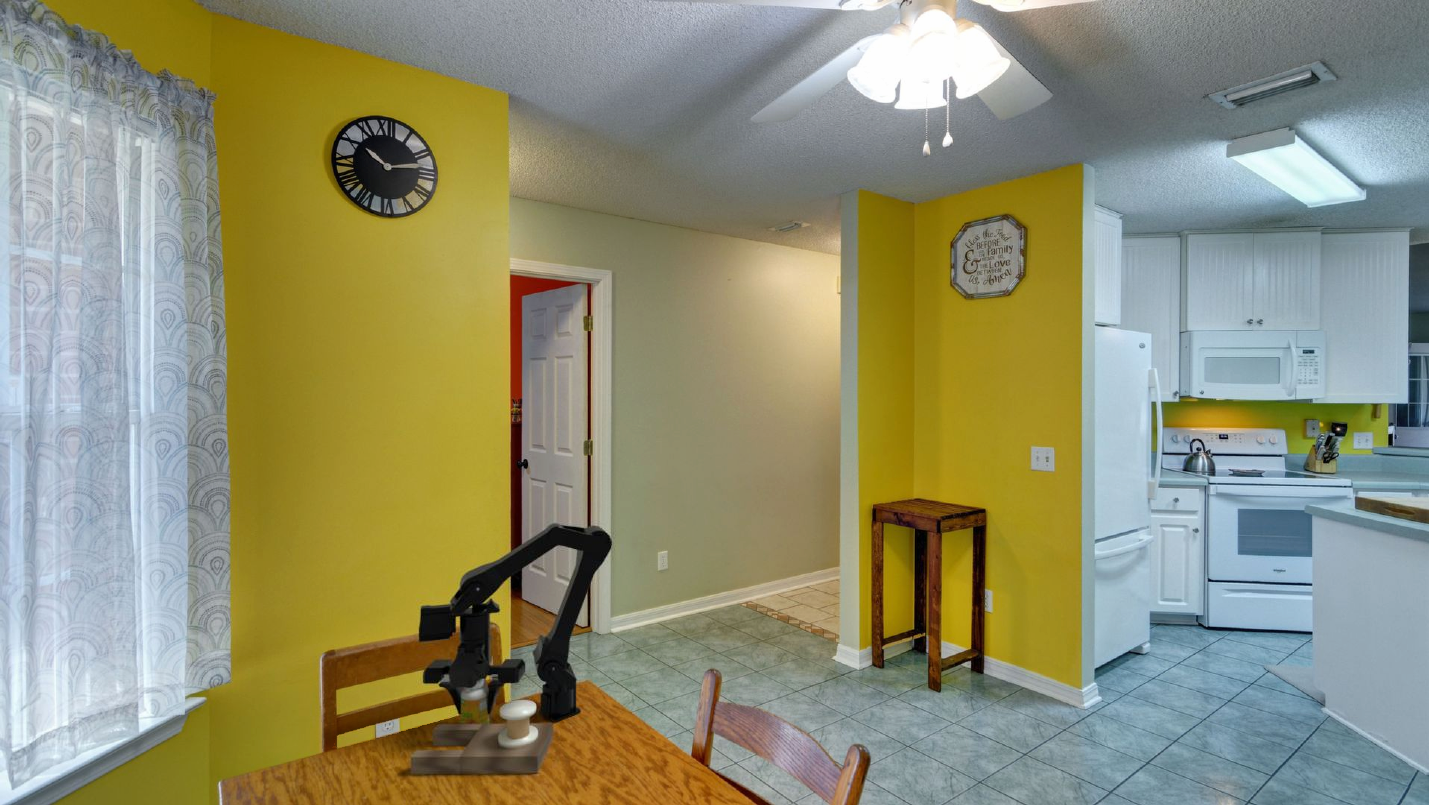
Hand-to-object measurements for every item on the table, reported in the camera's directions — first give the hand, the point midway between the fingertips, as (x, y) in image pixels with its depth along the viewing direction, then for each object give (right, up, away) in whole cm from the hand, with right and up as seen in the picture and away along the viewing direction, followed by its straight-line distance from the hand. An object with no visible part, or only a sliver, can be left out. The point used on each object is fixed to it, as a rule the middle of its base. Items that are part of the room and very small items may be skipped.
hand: (475, 713), depth 136 cm
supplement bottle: (0, -3, 0) cm, 3 cm away
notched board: (+6, -3, -11) cm, 13 cm away
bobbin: (+12, 0, -11) cm, 16 cm away
